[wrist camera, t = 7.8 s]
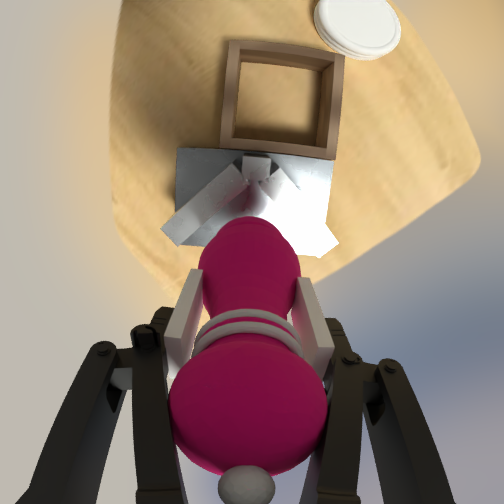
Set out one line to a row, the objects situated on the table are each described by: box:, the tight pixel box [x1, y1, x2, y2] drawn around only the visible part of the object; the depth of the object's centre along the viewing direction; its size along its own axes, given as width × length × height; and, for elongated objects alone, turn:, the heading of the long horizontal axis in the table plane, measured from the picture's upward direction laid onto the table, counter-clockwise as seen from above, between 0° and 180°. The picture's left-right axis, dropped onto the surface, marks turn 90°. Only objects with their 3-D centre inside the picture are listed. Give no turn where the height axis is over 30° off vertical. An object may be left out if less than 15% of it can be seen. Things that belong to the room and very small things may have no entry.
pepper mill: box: [168, 216, 328, 504], centre depth 15 cm, size 7×7×20 cm
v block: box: [160, 147, 338, 258], centre depth 29 cm, size 17×11×7 cm, turn 85°
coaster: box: [314, 0, 401, 60], centre depth 22 cm, size 10×10×4 cm
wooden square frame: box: [219, 40, 345, 160], centre depth 25 cm, size 11×11×5 cm
